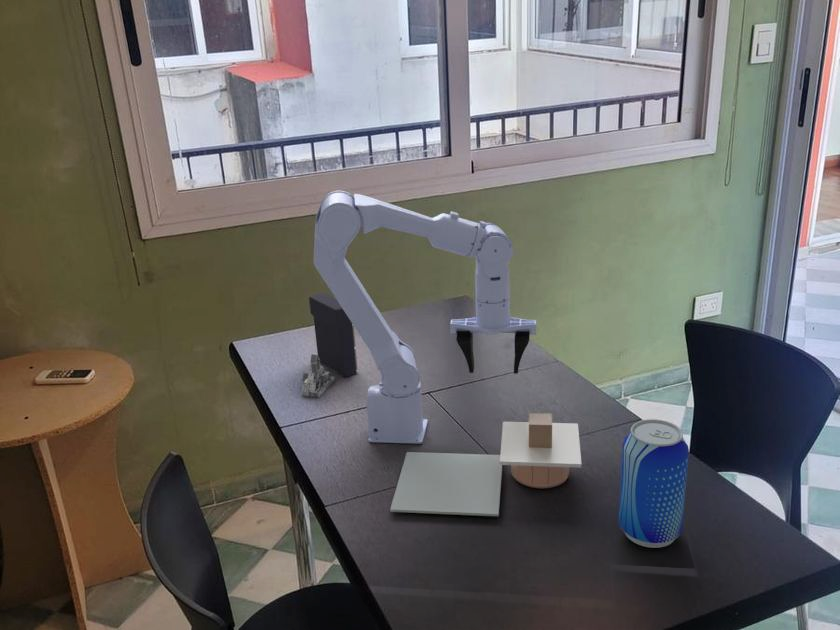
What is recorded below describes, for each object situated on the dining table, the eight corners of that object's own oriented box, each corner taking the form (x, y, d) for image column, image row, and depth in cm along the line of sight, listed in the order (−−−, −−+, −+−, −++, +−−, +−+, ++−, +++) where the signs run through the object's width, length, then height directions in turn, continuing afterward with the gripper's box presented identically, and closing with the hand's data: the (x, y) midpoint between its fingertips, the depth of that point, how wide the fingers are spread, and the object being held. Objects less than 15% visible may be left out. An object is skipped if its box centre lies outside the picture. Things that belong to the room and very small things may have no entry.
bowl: (510, 487, 120) (510, 459, 118) (512, 455, 128) (512, 429, 126) (570, 489, 118) (570, 461, 116) (567, 457, 126) (568, 430, 125)
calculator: (360, 372, 160) (354, 304, 155) (342, 378, 158) (335, 310, 152) (332, 356, 169) (326, 291, 163) (315, 362, 166) (308, 296, 161)
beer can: (644, 558, 103) (651, 454, 97) (606, 523, 110) (610, 424, 104) (694, 540, 106) (704, 438, 100) (654, 507, 113) (661, 410, 107)
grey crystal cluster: (302, 374, 162) (298, 340, 159) (339, 379, 159) (336, 345, 156) (279, 393, 154) (275, 358, 151) (318, 399, 151) (315, 363, 148)
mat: (390, 511, 115) (390, 509, 115) (407, 454, 130) (406, 451, 130) (498, 516, 113) (498, 514, 113) (503, 457, 128) (503, 455, 127)
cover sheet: (499, 464, 116) (499, 438, 115) (503, 424, 127) (502, 399, 126) (581, 467, 115) (582, 440, 113) (577, 426, 126) (578, 401, 124)
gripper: (447, 305, 128) (449, 380, 133) (536, 306, 126) (535, 381, 131) (451, 291, 134) (454, 362, 139) (536, 291, 132) (535, 363, 137)
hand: (493, 370), depth 135 cm, fingers open, 7 cm apart
